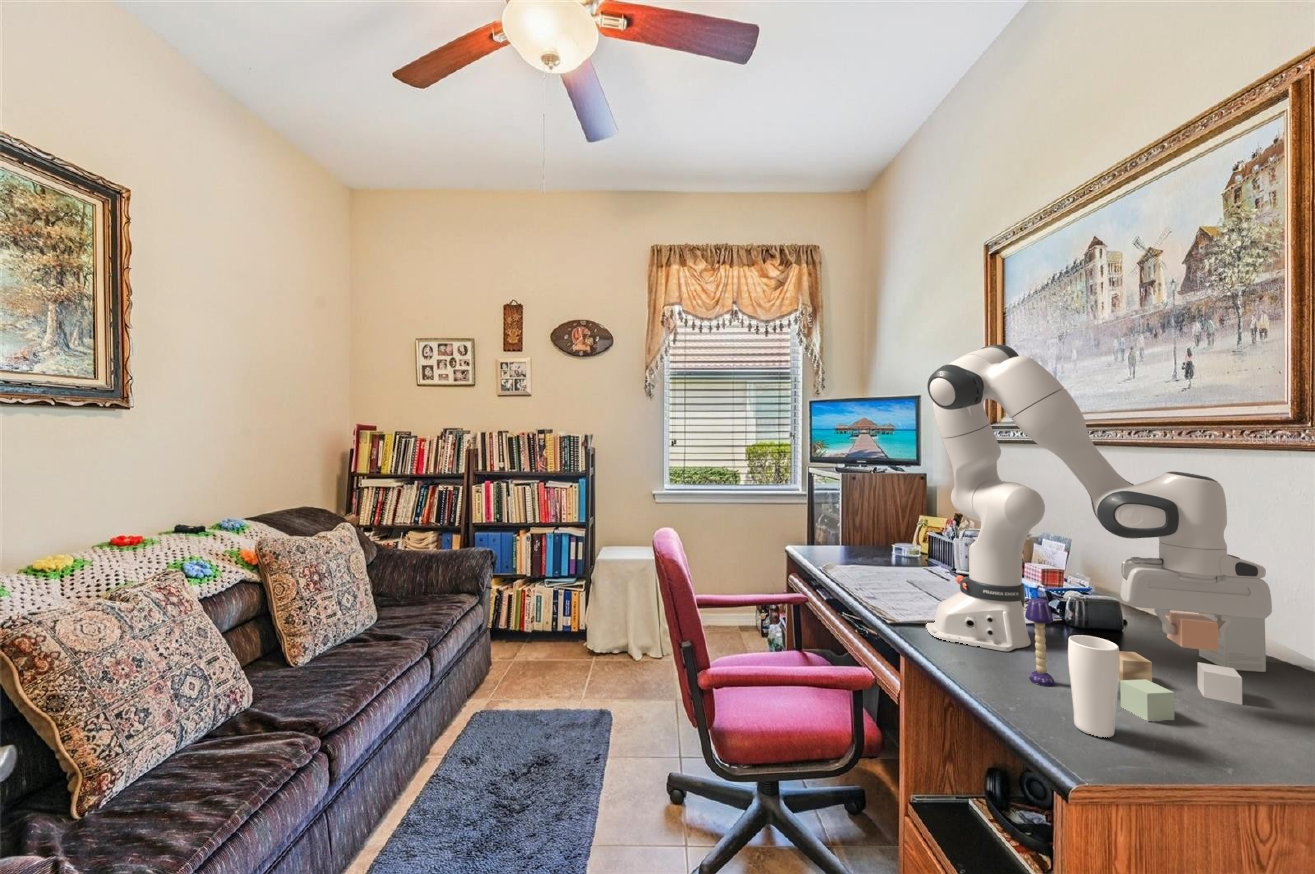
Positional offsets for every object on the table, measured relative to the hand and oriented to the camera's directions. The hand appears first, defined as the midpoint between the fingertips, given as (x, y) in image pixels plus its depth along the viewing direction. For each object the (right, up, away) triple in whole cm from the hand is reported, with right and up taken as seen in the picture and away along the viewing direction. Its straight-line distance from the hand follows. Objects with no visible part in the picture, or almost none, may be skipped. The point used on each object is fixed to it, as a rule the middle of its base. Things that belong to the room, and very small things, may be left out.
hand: (1192, 635), depth 97 cm
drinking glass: (-25, -13, -8) cm, 29 cm away
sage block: (-11, -13, -3) cm, 17 cm away
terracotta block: (0, -2, 0) cm, 2 cm away
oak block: (-2, -13, +10) cm, 17 cm away
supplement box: (+26, -13, +17) cm, 34 cm away
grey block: (+9, -13, +4) cm, 16 cm away
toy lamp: (-21, -13, +10) cm, 27 cm away
